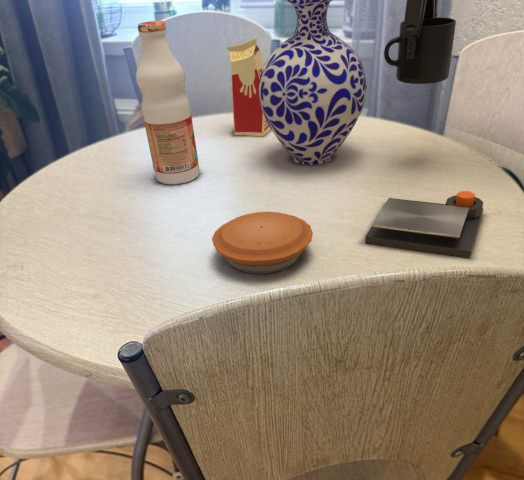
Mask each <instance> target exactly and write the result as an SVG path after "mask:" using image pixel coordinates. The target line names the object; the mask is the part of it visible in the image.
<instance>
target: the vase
mask: <svg viewBox="0 0 524 480" xmlns="http://www.w3.org/2000/svg"><path fill="white" fill-rule="evenodd" d="M285 1H286V2H288V3H290V4H292V6H293V9H294V10H295V15H296V24H295V30H294V33H293V34H292V35H291V36H289V37H288V38H287V39H286V40H284V41H283V42H282V43H281V44H280V45H279V46H278V47H277V48H276V49H275V50H274V51H273V52H271V54H270V56H269V57H268V58H267V59H266V62H265V63H264V67H263V70H262V73H261V77H260V84H259V99H260V105H261V108H262V111H263V114H264V117H265V119H266V121H267V123H268V125H269V126H270V128H271V129H270V131H271V132H272V133H273V134H274V136H275V137H276V139H277V141H279V143H280V144H281V145H282V146H283V148H284V149H285V150H286V151H287V152H288V154H289V155H290V156H291V157H292V161H293V162H295V163H297V164H300V165H306V166H315V165H322V164H326V163H329V162H331V161H332V160H333V158H334V155H335V154H336V153H337V151H338V150H339V149H340V148H341V146H342V144H344V142H345V141H346V139H347V138H348V136H349V135H350V133H351V132H352V130H353V129H354V128H355V125H356V123H357V121H358V119H359V118H360V116H361V113H362V111H363V108H364V106H365V102H366V99H367V98H366V97H367V90H368V89H367V88H368V86H367V75H366V70H365V67H364V64H363V62H362V59H361V58H360V56H359V54H358V53H357V52H356V51H355V50H354V49H353V48H352V46H350V45H349V44H348V43H347V42H345V40H343V39H341V38H340V37H338V36H337V35H335V34H334V33H332V32H331V31H330V28H329V26H328V19H327V16H328V9H329V6H330V3H331V2H332V1H333V0H285Z"/></svg>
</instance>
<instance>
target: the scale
mask: <svg viewBox="0 0 524 480" xmlns="http://www.w3.org/2000/svg"><path fill="white" fill-rule="evenodd" d="M456 196H457V194H456V195H452V196H450V197H447V198H446V202H445V203H439V202H429V201H421V200H411V199H402V198H395V197H394V198H393V197H388V198H387V200H388V199H395V200H404V201H413V202H422V203H431V204H440V205H449V206H458V205H456V204H455V202H456ZM387 200H386V201H385V203H386V202H387ZM383 207H384V205H383ZM383 207H382V208H383ZM458 207H462V206H458ZM467 208H469V210H468V213H467V216H466V219H465V222H464V225H463V228H462V231H461V234H460V237H459V238H454V237H446V236H439V235H431V234H423V233H416V232H408V231H401V230H393V229H386V228H378V227H372V226H370V228H369V230H368V232H367V233H366V234H365V238H364V243H365V244H368V245H369V244H370V245H377V246H384V247H389V248H390V247H391V248H398V249H404V250H411V251H419V252H425V253H433V254H438V255H439V254H440V255H445V256H446V255H447V256H453V257H461V258H468V259H470V258H471V255H472V251H473V250H474V249H473V248H474V245H475V241H476V238H477V234H478V231H479V227H480V224H481V222H482V221H481V220H482V217H483V213H484V202H483V200H482V199H481V198H479V197H477V196H475V198H474V204H473V206H470V207H467ZM380 212H381V210H380V211H379V213H380ZM377 217H378V215H377V216H376V218H377ZM374 222H375V220H374V221H373V223H374Z"/></svg>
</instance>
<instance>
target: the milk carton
mask: <svg viewBox="0 0 524 480" xmlns="http://www.w3.org/2000/svg"><path fill="white" fill-rule="evenodd" d="M257 40H258V38H257V37H255V38H253V39H251V40H248V41H246V42H244V43H242V44H236V45H231V46H227V47H225V49H227V50H228V51H229V58H230V73H231V78H230V79H231V100H232V117H233V131H234V136H250V137H253V136H254V137H265V135H267V134H268V133H269V132H270V131H271V128H270V126H269V125H268V123H267V121H266V119H265V117H264V114H263V111H262V108H261V105H260V99H259V84H260V77H261V73H262V70H263V67H264V65H265V63H264V60H263V57H262V53H261V50H260V48H259V46H258V44H257Z"/></svg>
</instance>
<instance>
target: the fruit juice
mask: <svg viewBox="0 0 524 480" xmlns="http://www.w3.org/2000/svg"><path fill="white" fill-rule="evenodd" d="M166 29H167V27H166V22H165V21H163V20H150V21H143V22H140V23H138V24H137V31H138V35H139V36H140V38H141V53H140V60H139V63H138V65H137V68H136V72H135V80H136V84H137V87H138V90H139V92H140V93H141V94H140V95H141V98H142V99H141V114H142V120H143V124H144V128H145V133H146V138H147V139H146V140H147V143H148V147H149V153H150V158H151V162H152V167H153V172H154V176H155V179H156V180H157V181H158V182H159V183H161V184H165V185H180V184H181V185H182V184H185V183H188V182H191V181H194V180H195V179H197V178H198V177H199V175H200V163H199V156H198V150H197V145H196V143H197V142H196V137H195V130H194V124H193V117H192V116H193V115H192V110H191V109H192V108H191V105H190V101H189V98H188V96H187V94H186V91H185V85H186V75H185V71H184V68H183V67H182V65H181V63H180V61H178V59H176V57H175V56H174V53H173V52H172V50H171V48H170V45H169V42H168V40H167V38H166V32H167V30H166Z"/></svg>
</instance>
